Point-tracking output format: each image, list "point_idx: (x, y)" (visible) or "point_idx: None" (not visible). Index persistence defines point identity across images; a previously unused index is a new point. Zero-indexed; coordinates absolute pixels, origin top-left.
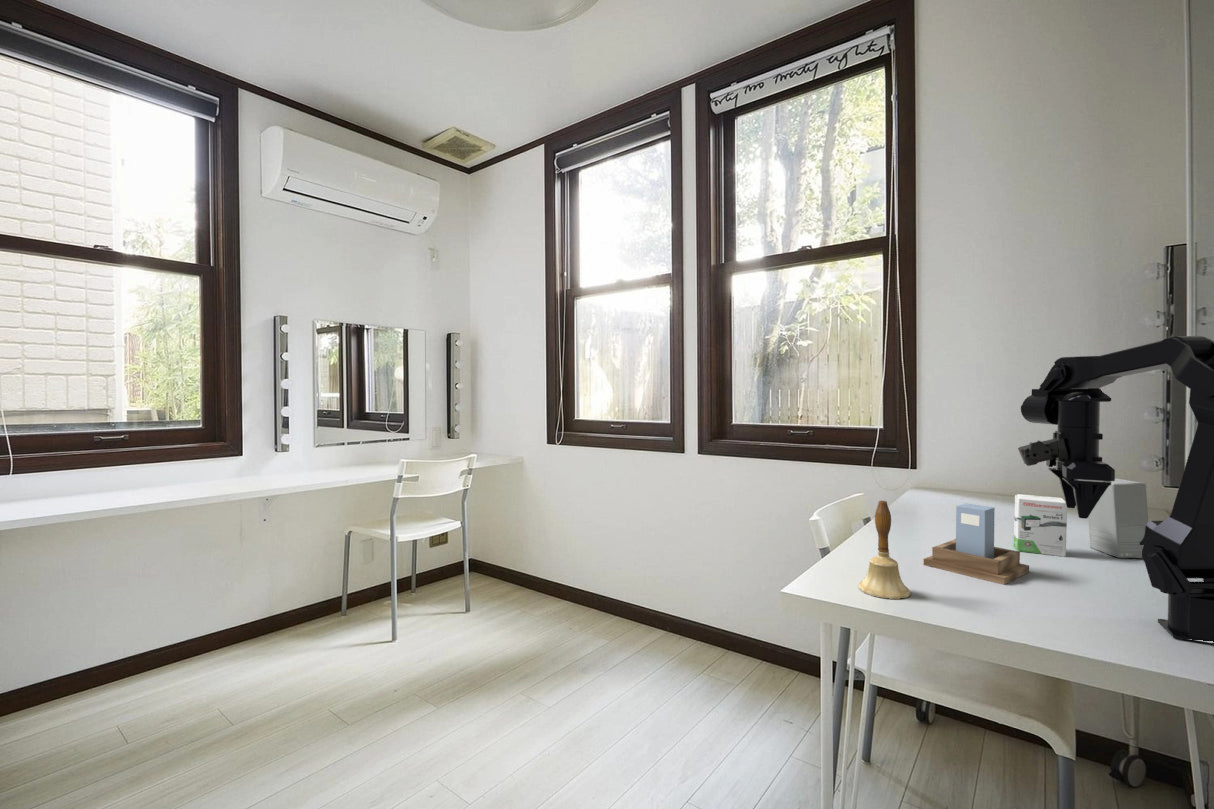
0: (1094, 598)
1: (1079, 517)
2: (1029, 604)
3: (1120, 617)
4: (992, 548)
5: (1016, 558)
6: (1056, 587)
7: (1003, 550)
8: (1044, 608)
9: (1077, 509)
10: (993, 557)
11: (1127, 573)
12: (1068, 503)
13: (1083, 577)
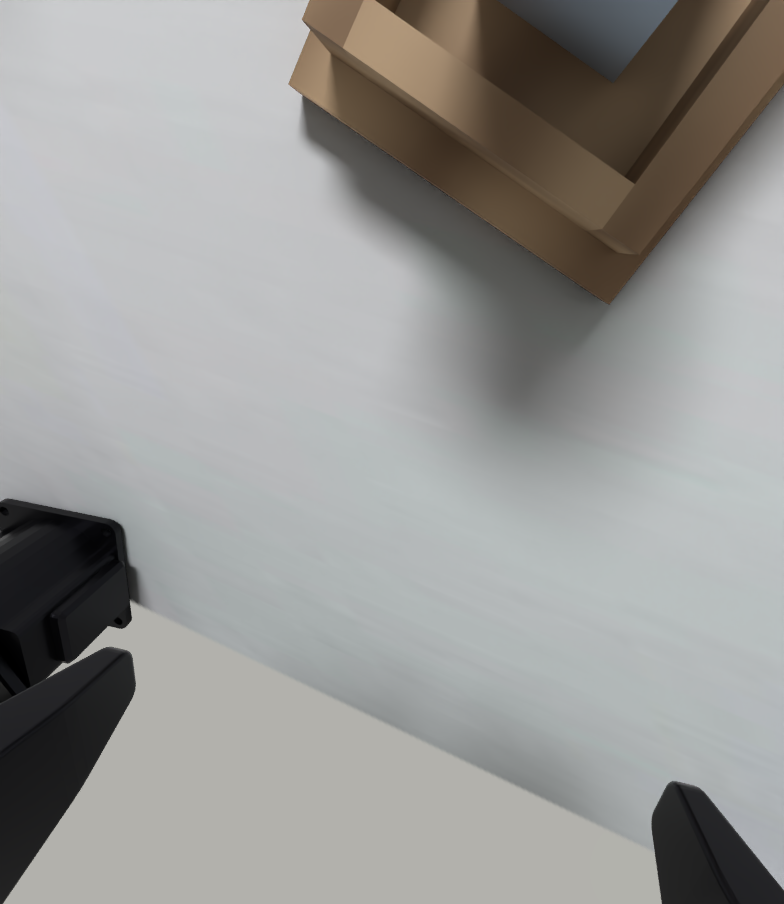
0: (277, 440)
1: (111, 647)
2: (64, 152)
3: (109, 439)
4: (616, 24)
5: (580, 220)
6: (365, 347)
7: (668, 140)
8: (51, 205)
9: (34, 700)
10: (614, 64)
11: (677, 690)
12: (685, 840)
13: (567, 513)
